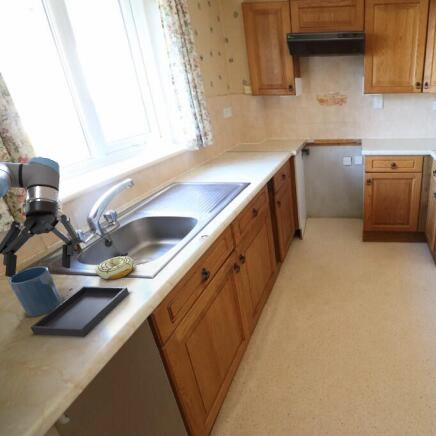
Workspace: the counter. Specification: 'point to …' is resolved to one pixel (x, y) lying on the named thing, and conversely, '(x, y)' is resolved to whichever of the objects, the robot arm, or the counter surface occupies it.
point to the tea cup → (36, 290)
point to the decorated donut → (115, 267)
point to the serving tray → (80, 311)
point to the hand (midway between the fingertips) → (38, 271)
